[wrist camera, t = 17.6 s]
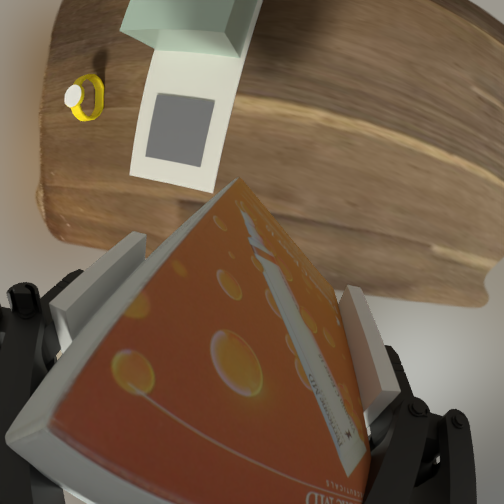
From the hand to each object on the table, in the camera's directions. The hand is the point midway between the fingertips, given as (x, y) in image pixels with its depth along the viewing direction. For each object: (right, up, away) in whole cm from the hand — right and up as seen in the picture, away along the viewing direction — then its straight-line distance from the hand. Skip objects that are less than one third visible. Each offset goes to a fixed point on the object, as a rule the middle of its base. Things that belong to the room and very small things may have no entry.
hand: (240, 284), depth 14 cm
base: (-6, +21, +13) cm, 26 cm away
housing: (-4, +28, +10) cm, 30 cm away
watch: (-19, +21, +15) cm, 32 cm away
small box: (0, +1, +2) cm, 2 cm away
